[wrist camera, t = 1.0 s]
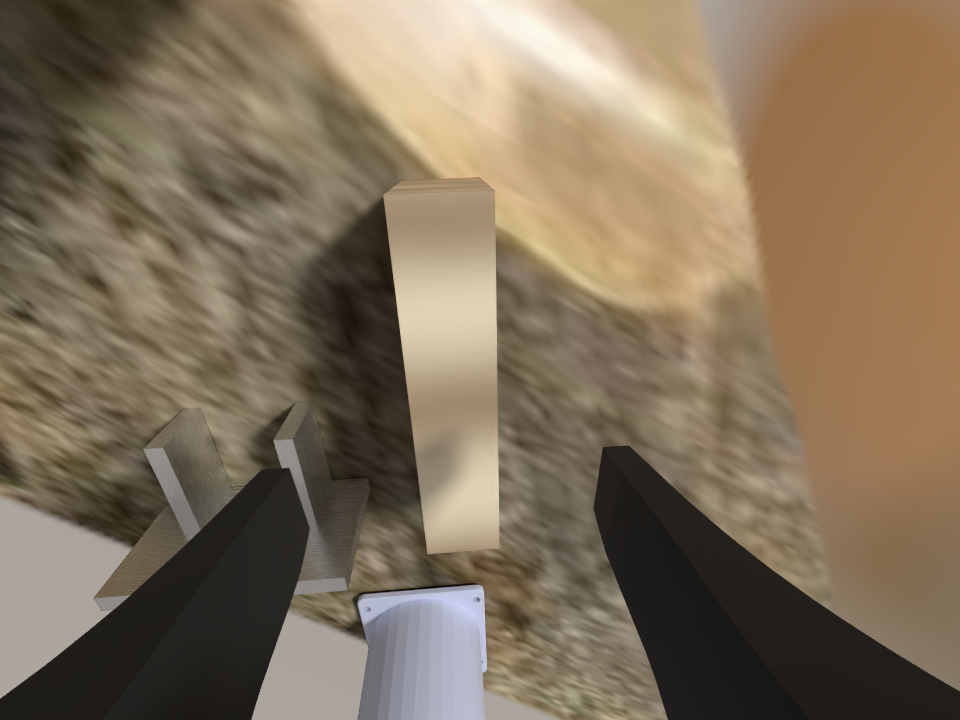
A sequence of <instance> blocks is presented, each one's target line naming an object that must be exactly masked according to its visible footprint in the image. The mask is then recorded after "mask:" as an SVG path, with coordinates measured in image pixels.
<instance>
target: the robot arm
mask: <svg viewBox="0 0 960 720" xmlns="http://www.w3.org/2000/svg"><path fill="white" fill-rule="evenodd" d="M594 512H595V516H596V519H597V523H598V527H599V531H600V534H601V538H602V541H603V545H604V548H605V552H606V554H607V557H608V559H609V562H610V564H611V567H612V569H613V572H614V574H615V577H616V579H617V582H618V584H619V587H620V589H621V592H622V594H623V597H624V599H625V602H626V604H627V607H628V609H629V612H630V614H631V617H632V619H633V622H634V624H635V627H636V629H637V631H638V634H639V636H640V639H641V641H642V644H643V646H644V649H645V651H646V654H647V657H648V659H649V662H650V665H651V668H652V670H653V673H654V676H655V679H656V682H657V685H658V689H659V692H660V695H661V698H662V702H663V705H664V708H665V711H666V714H667V718H668V720H960V691H958V690H956V689H955V688H953V687H951V686H949V685H948V684H946V683H944V682H943V681H941V680H939V679H937V678H936V677H934V676H932V675H930V674H929V673H927V672H925V671H924V670H922V669H920V668H919V667H917V666H916V665H914V664H912V663H911V662H909V661H907V660H906V659H904V658H902V657H901V656H899V655H898V654H896V653H894V652H893V651H891V650H889V649H887V648H886V647H885V646H883V645H882V644H880V643H878V642H877V641H875V640H874V639H872V638H871V637H869V636H868V635H866V634H865V633H863V632H861V631H860V630H858V629H857V628H855V627H854V626H852V625H851V624H849V623H847V622H846V621H844V620H843V619H841V618H840V617H838V616H837V615H835V614H834V613H832V612H831V611H829V610H828V609H826V608H825V607H823V606H822V605H820V604H819V603H818V602H816V601H815V600H813V599H812V598H810V597H809V596H808V595H806V594H805V593H803V592H802V591H801V590H799V589H798V588H797V587H795V586H794V585H792V584H791V583H790V582H788V581H787V580H785V579H784V578H783V577H781V576H780V575H778V574H777V573H776V572H774V571H773V570H772V569H770V568H769V567H768V566H766V565H765V564H764V563H762V562H761V561H760V560H758V559H757V558H756V557H755V556H753V555H752V554H751V553H750V552H748V551H747V550H746V549H745V548H743V547H742V546H741V545H740V544H738V543H737V542H736V541H735V540H733V539H732V538H731V537H730V536H728V535H727V534H726V533H725V532H724V531H722V530H721V529H720V528H719V527H718V526H716V525H715V524H714V523H713V522H712V521H711V520H709V519H708V518H707V517H706V516H705V515H704V514H703V513H701V512H700V511H699V510H698V509H697V508H696V507H695V506H693V505H692V504H691V503H690V502H689V501H688V500H687V499H686V498H684V497H683V496H682V495H681V494H680V493H679V492H678V491H677V490H676V489H675V488H674V487H672V486H671V485H670V484H669V483H668V482H667V481H666V480H665V479H664V478H663V477H662V476H661V475H660V474H659V473H657V472H656V471H655V470H654V469H653V468H652V467H651V466H650V465H649V464H648V463H647V462H646V461H645V460H644V459H643V458H642V457H640V456H639V455H638V454H637V453H636V452H635V451H634V450H633V449H632V448H631V447H630V446H613V447H603V450H602V457H601V463H600V470H599V476H598V483H597V489H596V496H595V502H594ZM309 531H310V527H309V524H308V521H307V518H306V515H305V512H304V509H303V506H302V503H301V500H300V497H299V495H298V492H297V489H296V486H295V483H294V480H293V477H292V474H291V471H290V468H279V469H264V470H261V471H260V472H259V473H258V474H257V475H256V476H255V477H254V478H253V479H252V480H251V481H250V482H249V483H248V484H247V485H246V486H245V487H244V488H243V489H242V490H241V491H240V492H239V493H238V494H237V495H236V496H235V497H234V498H233V499H232V500H231V501H230V502H229V503H228V504H227V505H226V506H225V507H224V508H223V509H222V510H221V511H220V512H219V513H218V514H217V515H216V516H215V517H214V518H213V519H211V520H210V521H209V522H208V523H207V524H206V525H205V526H204V527H203V528H202V529H201V530H200V531H199V532H198V533H197V534H196V535H195V536H194V537H193V538H192V539H191V540H190V541H189V542H188V543H187V544H186V545H185V546H184V547H183V548H182V549H181V550H180V551H178V552H177V553H176V554H175V555H174V556H173V557H172V558H171V559H170V560H169V561H167V562H166V563H165V564H164V565H163V566H162V567H161V568H160V569H159V570H158V571H156V572H155V573H154V574H153V575H152V576H151V577H150V578H149V579H148V580H147V581H145V582H144V583H143V584H142V585H141V586H140V587H139V588H138V589H137V590H136V591H134V592H133V593H132V594H131V595H130V596H129V597H128V598H127V599H126V600H124V601H123V602H122V603H121V604H120V605H119V606H117V607H116V608H115V609H114V610H113V611H112V612H110V613H109V614H108V615H107V616H106V617H105V618H103V619H102V620H101V621H100V622H98V623H97V624H96V625H95V626H94V627H92V628H91V629H90V630H89V631H88V632H86V633H85V634H84V635H83V636H81V637H80V638H79V639H78V640H76V641H75V642H74V643H73V644H71V645H70V646H69V647H68V648H66V649H65V650H64V651H63V652H62V653H60V654H59V655H58V656H57V657H55V658H54V659H53V660H51V661H50V662H49V663H47V664H46V665H45V666H44V667H42V668H41V669H40V670H38V671H37V672H36V673H34V674H33V675H32V676H30V677H29V678H28V679H26V680H25V681H24V682H22V683H21V684H20V685H18V686H17V687H16V688H14V689H13V690H11V691H10V692H9V693H7V694H6V695H5V696H3V697H2V698H1V699H0V720H251V719H252V715H253V711H254V708H255V705H256V702H257V699H258V695H259V692H260V689H261V686H262V683H263V680H264V677H265V674H266V672H267V669H268V666H269V663H270V660H271V657H272V654H273V652H274V649H275V646H276V643H277V640H278V637H279V634H280V631H281V629H282V626H283V623H284V620H285V617H286V614H287V612H288V609H289V606H290V603H291V600H292V597H293V594H294V591H295V588H296V585H297V582H298V579H299V576H300V573H301V568H302V564H303V560H304V556H305V551H306V546H307V541H308V536H309ZM358 608H359V612H360V616H361V620H362V624H363V628H364V632H365V636H366V640H367V644H368V648H369V650H368V657H367V663H366V670H365V676H364V682H363V689H362V696H361V702H360V708H359V715H358V720H486V718H485V703H484V689H483V674H482V673H484V672H485V671H486V670H487V660H486V635H485V609H484V589H483V587H482V586H480V585H467V586H455V587H443V588H431V589H420V590H408V591H396V592H384V593H372V594H364V595H361V596H360V597H359V599H358Z"/></svg>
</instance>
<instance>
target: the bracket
mask: <svg viewBox="0 0 960 720" xmlns="http://www.w3.org/2000/svg"><path fill="white" fill-rule="evenodd" d="M273 441H274V444H275V448H276V451H277V454H278V457H279V461H280V464H281V467H282V468H290V471H291V474H292V477H293V480H294V483H295V486H296V489H297V492H298V495H299V497H300V500H301V503H302V506H303V509H304V512H305V515H306V518H307V521H308V524H309V527H310V531H309V536H308V541H307V546H306V551H305V556H304V560H303V564H302V568H301V573H300V576H299V579H298V582H297V585H296V588H295V591H294V594H293V595H296V594H308V593H320V592H332V591H344V590H348V586H349V582H350V578H351V573H352V569H353V564H354V560H355V555H356V551H357V546H358V542H359V537H360V533H361V528H362V524H363V519H364V515H365V511H366V506H367V502H368V497H369V493H370V484H369V479H368V478H355V479H341V480H332V479H331V475H330V471H329V467H328V463H327V459H326V455H325V450H324V446H323V442H322V438H321V434H320V430H319V426H318V422H317V418H316V413H315V409H314V405H313V401H312V402H296V403H295V405H294V406H293V408H292V410H291V411H290V413H289V415H288V417H287V418H286V420H285V422H284V423H283V425H282V427H281V428H280V430H279V432H278V433H277V435H276V437H275V438H274V440H273ZM143 450H144V452H145V454H146V456H147V458H148V460H149V462H150V464H151V466H152V468H153V470H154V472H155V474H156V477H157V479H158V481H159V483H160V485H161V487H162V489H163V491H164V493H165V495H166V497H167V499H168V501H169V503H168V504H167V505H166V507H165V508H164V509H163V510H162V512H161V513H160V514H159V516H158V517H157V518H156V519H155V521H154V522H153V523H152V524H151V526H150V527H149V528H148V530H147V531H146V532H145V533H144V535H143V536H142V537H141V538H140V540H139V541H138V542H137V544H136V545H135V546H134V547H133V549H132V550H131V551H130V552H129V554H128V555H127V556H126V558H125V559H124V560H123V561H122V563H121V564H120V565H119V566H118V568H117V569H116V570H115V572H114V573H113V574H112V575H111V577H110V578H109V579H108V581H107V582H106V583H105V584H104V586H103V587H102V588H101V590H100V591H99V592H98V593H97V595H96V596H95V597H94V600H95V601H96V603H97V604H98V606H99V607H100V609H101V610H102V611H106V610H114V609H115V608H116V607H117V606H119V605H120V604H121V603H122V602H123V601H124V600H126V599H127V598H128V597H129V596H130V595H131V594H132V593H133V592H134V591H136V590H137V589H138V588H139V587H140V586H141V585H142V584H143V583H144V582H145V581H147V580H148V579H149V578H150V577H151V576H152V575H153V574H154V573H155V572H156V571H158V570H159V569H160V568H161V567H162V566H163V565H164V564H165V563H166V562H167V561H169V560H170V559H171V558H172V557H173V556H174V555H175V554H176V553H177V552H178V551H180V550H181V549H182V548H183V547H184V546H185V545H186V544H187V543H188V542H189V541H190V540H191V539H192V538H193V537H194V536H195V535H196V534H197V533H198V532H199V531H200V530H201V529H202V528H203V527H204V526H205V525H206V524H207V523H208V522H209V521H210V520H211V519H213V518H214V517H215V516H216V515H217V514H218V513H219V512H220V511H221V510H222V509H223V508H224V507H225V506H226V505H227V504H228V503H229V502H230V501H231V500H232V499H233V498H234V497H235V496H236V495H237V494H238V493H239V492H240V491H241V490H242V489H243V488H244V487H245V486H242V487H231V486H230V484H229V481H228V478H227V476H226V473H225V471H224V468H223V465H222V463H221V460H220V458H219V455H218V453H217V450H216V447H215V445H214V442H213V440H212V437H211V434H210V432H209V429H208V427H207V424H206V422H205V419H204V416H203V414H202V411H201V409H200V408H198V409H183V410H182V411H181V412H180V413H179V414H178V415H177V416H176V417H175V418H174V419H173V420H172V421H171V422H170V423H169V424H168V425H167V426H166V427H165V428H164V429H163V430H162V431H161V432H160V433H159V434H158V435H157V436H156V437H155V438H154V439H153V440H152V441H151V442H150V443H149V444H148V445H147V446H146V447H145V448H144V449H143Z"/></svg>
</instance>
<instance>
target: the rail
mask: <svg viewBox="0 0 960 720" xmlns="http://www.w3.org/2000/svg"><path fill="white" fill-rule="evenodd" d="M383 197H384V205H385V213H386V221H387V229H388V237H389V245H390V253H391V262H392V270H393V278H394V286H395V294H396V302H397V310H398V318H399V326H400V334H401V342H402V351H403V359H404V367H405V375H406V383H407V391H408V399H409V407H410V415H411V423H412V431H413V439H414V448H415V456H416V464H417V472H418V480H419V488H420V496H421V504H422V512H423V520H424V528H425V537H426V545H427V553H428V554H434V553H446V552H458V551H471V550H483V549H495V548H499V484H498V405H497V327H496V248H495V190H494V189H492V188H491V187H490V186H489V185H488V184H487V183H485V182H484V181H483V180H482V179H481V178H480V177H476V178H449V179H421V180H403V181H401V182H400V183H399V184H397V185H396V186H395V187H393V188H392V189H390V190H389V191H388V192H386V193H385V194H384V195H383Z"/></svg>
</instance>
